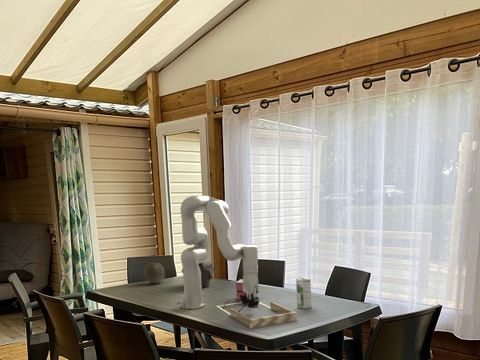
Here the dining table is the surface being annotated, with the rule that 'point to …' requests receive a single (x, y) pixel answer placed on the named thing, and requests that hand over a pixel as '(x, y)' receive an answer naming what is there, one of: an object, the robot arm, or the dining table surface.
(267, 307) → the cream outline
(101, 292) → the dining table surface
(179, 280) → the dining table surface
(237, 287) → the puzzle cube
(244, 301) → the sunglasses
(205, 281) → the vessel
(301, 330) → the dining table surface
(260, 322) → the shallow wooden tray
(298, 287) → the syrup box
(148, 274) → the cantaloupe
